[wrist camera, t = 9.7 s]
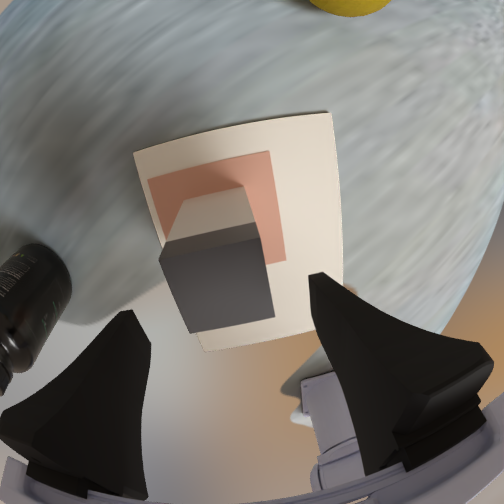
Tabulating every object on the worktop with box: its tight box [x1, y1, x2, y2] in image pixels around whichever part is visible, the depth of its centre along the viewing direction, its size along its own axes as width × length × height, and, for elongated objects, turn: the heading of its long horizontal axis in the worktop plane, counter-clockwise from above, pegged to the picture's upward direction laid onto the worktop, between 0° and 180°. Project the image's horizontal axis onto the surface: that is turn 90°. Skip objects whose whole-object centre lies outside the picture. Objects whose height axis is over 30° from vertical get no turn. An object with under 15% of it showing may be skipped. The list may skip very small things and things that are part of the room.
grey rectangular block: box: [159, 186, 275, 333], centre depth 15 cm, size 4×4×8 cm
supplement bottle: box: [0, 244, 72, 396], centre depth 14 cm, size 7×7×12 cm
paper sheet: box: [133, 113, 343, 352], centre depth 20 cm, size 18×13×1 cm
